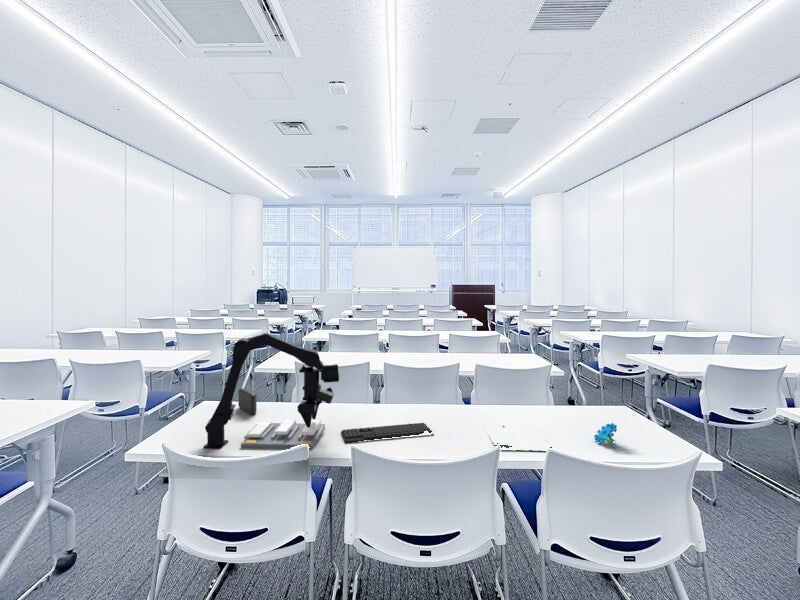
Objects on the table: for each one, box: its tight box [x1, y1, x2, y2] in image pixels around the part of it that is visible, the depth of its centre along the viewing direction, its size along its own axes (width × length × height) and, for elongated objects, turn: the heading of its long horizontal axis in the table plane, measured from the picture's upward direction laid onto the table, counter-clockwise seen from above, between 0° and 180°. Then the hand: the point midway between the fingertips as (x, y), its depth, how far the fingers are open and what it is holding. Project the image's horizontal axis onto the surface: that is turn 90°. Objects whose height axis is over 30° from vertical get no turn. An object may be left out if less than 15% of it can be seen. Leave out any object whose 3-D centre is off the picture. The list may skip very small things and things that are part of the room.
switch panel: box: [240, 422, 326, 450], centre depth 161 cm, size 22×27×2 cm
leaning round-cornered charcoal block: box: [237, 387, 258, 416], centre depth 193 cm, size 16×5×9 cm, turn 42°
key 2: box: [302, 419, 322, 435], centre depth 161 cm, size 13×4×1 cm, turn 179°
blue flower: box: [593, 422, 618, 447], centre depth 159 cm, size 11×6×10 cm
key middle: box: [275, 419, 297, 435], centre depth 161 cm, size 13×4×1 cm, turn 179°
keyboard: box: [340, 422, 433, 444], centre depth 166 cm, size 35×11×2 cm, turn 106°
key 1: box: [247, 421, 272, 437], centre depth 161 cm, size 13×4×1 cm, turn 179°
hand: (311, 423), depth 161 cm, fingers open, 9 cm apart
